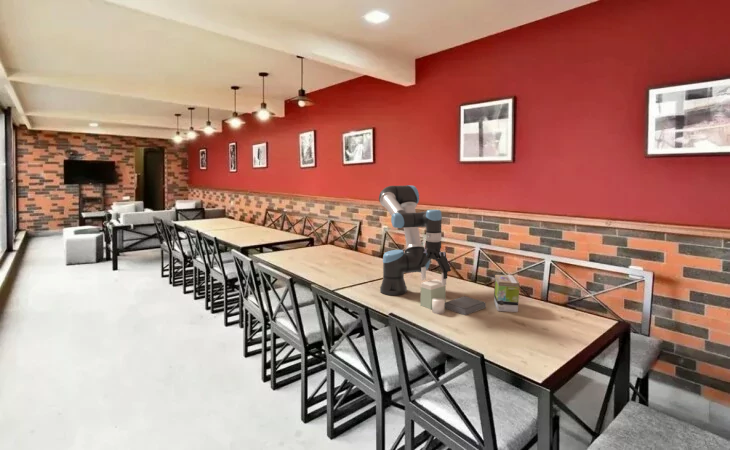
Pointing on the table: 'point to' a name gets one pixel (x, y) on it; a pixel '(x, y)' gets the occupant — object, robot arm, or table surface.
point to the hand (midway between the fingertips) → (433, 282)
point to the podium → (465, 305)
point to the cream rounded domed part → (438, 305)
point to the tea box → (506, 293)
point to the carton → (431, 292)
